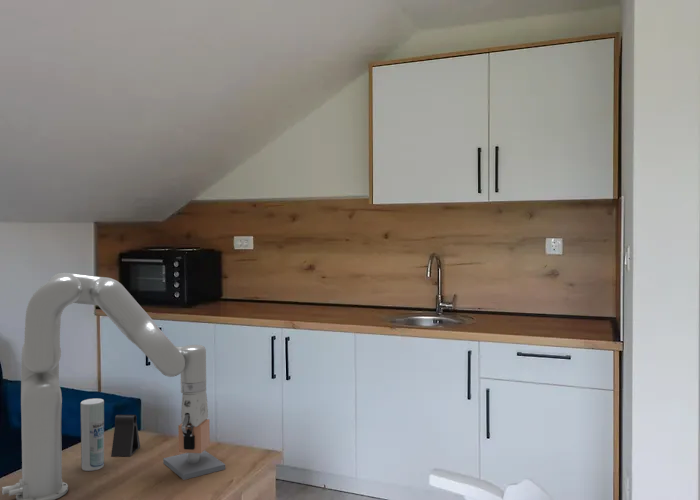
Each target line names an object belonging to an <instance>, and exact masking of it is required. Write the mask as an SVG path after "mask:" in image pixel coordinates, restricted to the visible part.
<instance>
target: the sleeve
mask: <svg viewBox="0 0 700 500" xmlns="http://www.w3.org/2000/svg"><path fill="white" fill-rule="evenodd" d="M188 425H192V424H188ZM181 427H182V422H181V423H180V424H179V425H178V427H177V428H178V453H181V454H184V453H202V452H203V451H204V450H205V451H206V449H207V448H208V447H209V446H210V444H211V441H210V440H211V437H210V436H211V435H210V431H211V429H210V419H209V418H207V419H206V420H205V421H204V422H203V423H202V424H200V425H199V426H198V427H195V426H194V434H193V436H195V449H193V450H189V449H184V437H183V431H182V429H181ZM188 429H189V430H190V431H191V428H188Z"/></svg>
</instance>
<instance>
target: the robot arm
mask: <svg viewBox="0 0 700 500" xmlns="http://www.w3.org/2000/svg"><path fill="white" fill-rule="evenodd" d="M72 304H77V305H78V304H79V305H89V306H91V305H92V306H98V308H100V310H102V312H103V313H104V314H105V315H106V316H107V317H108V318H109V320H110V321H112V322H113V324H114V325H115V327H117V328H118V329H119V331H120V332H121V333H122V335H124V337H126V338H127V339H128V340H129V341H130V342H131V343H133V344H134V345H135V346H136V347H137V348H139V350H140V351H141V352H142V353H143V354H144V355H145V356H146V358H148V359H149V360H150V361H151V362H152V364H153V365H154V367H155V368H156V369H157V371H159V373H161V374H162V375H164V376H165V377H169V378H173V377H177V376H179V375H180V393H181V394H182V396H181V409H180V410H181V411H180V415H181V416H180V417H181V423H182V427H181V429H182V431H183V437H184V449H189V450H193V449H195V436H193V434H194V426H195V427H198V426H199V425H200V424H202V423H203V422H204V421H205V420H206V419H209V418H208V417H209V412H208V410H209V409H208V397H207V349H206V347H205V346H203V345H201V344H189V345H185V346H175V345H174V343H173V342H172V340H170V339H169V338H168V337H167V335H166V334H165V333H164V332H163V331H162V330H161V329H160V328H159V327H158V325H157V323H156V322H155V321H154V320H153V319H152V318H151V316H150V315H149V314H148V313H147V311H145V309H144V308H142V306H141V305H140V304H139V303H138V302H137V300H136V299H135V298H134V296H133V295H131V293H130V292H129V291H128V290H127V289H126V288H125V286H124V285H123V284H122V283H121V282H119V281H118V280H116V279H114V278H111V277H105V276H96V275H94V276H93V275H85V274H78V273H77V274H76V273H69V272H59V273H56V274H54V275H52V277H50V279H49V280H48V281H47V282H46V283H44V284H42V285H41V286H40V287H39V288H38V289H37V290H36V291H35V292H34V293H33V294H32V296H31V297H30V299H29V301H28V304H27V306H26V311H25V318H24V319H25V321H24V322H25V323H24V338H23V339H24V340H23V342H24V343H23V345H22V348H21V362H20V363H21V364H20V365H21V369H20V370H21V371H20V377H21V379H20V413H21V414H20V415H21V416H20V417H21V462H22V463H21V469H22V470H21V472H22V473H21V478H19V481H18V482H16V483H15V484H13V485H6V486H2V487H1V492H2V494H1V495H3V496H4V495H7V494H8V496H9V497H10V496H15V499H16V500H57V499H59V498H61V497H63V496H65V495H66V494H67V493H68V491H69V485H68V483H67V482H65V481H63V475H62V474H63V472H62V471H63V469H62V468H63V465H62V463H63V462H62V461H63V460H62V458H63V457H62V454H63V453H62V447H63V446H62V441H63V440H62V408H63V404H62V403H63V396H62V389H61V386H60V378H59V377H60V360H61V357H62V350H61V319H62V314H63V312H64V310H65V309H66V308H67V307H68V306H70V305H72ZM188 424H192V425H188ZM188 428H191V431H190V430H189V429H188Z"/></svg>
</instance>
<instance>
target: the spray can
mask: <svg viewBox="0 0 700 500" xmlns="http://www.w3.org/2000/svg"><path fill="white" fill-rule="evenodd" d="M80 442H81V443H80V448H81V449H80V450H81V453H80V454H81V459H80V460H81V469H82V471H85V472H88V471H89V472H91V471H97V470H100V469H102V468H103V467H104V466H105V400H104V399H103V398H87V399H84V400H82V401H81V402H80Z"/></svg>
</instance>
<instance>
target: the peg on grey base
mask: <svg viewBox="0 0 700 500" xmlns="http://www.w3.org/2000/svg"><path fill="white" fill-rule="evenodd" d="M162 460H163V461H162V463H163V464H164V465H165V466H167V468H169V469H170V470H171V471H172V472H173V473H175V474H176V475H177V476H179V478H180V479H182V480H183V481H185V480H188V479H193V478H196V477H201V476H205V475H208V474H211V473H217V472H220V471H223V470H226V463H224V462H223V461H221V460H220V459H218V458H217V457H216V456H215V455H213V454H211V453H209V452H208V451H206V449H205V450H204V451H203V452H202V453H180V454H177V455H172V456H168V457H163V459H162Z"/></svg>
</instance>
